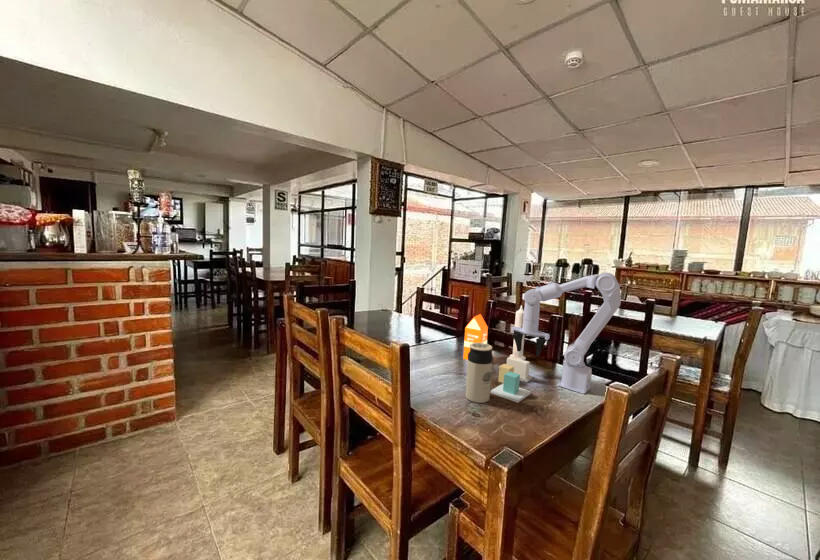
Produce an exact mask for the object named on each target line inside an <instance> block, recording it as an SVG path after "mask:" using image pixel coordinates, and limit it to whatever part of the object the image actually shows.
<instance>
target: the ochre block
mask: <svg viewBox="0 0 820 560" xmlns="http://www.w3.org/2000/svg"><path fill="white" fill-rule="evenodd" d="M509 371H510V372H513V373H514V366H510V365H507V363H503V364H501V365H499V367H498V379H497V380H498V381H497V382H499V383H501V384H503V383H504V374H506V373H507V372H509Z"/></svg>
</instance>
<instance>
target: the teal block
mask: <svg viewBox="0 0 820 560" xmlns="http://www.w3.org/2000/svg"><path fill="white" fill-rule="evenodd" d="M520 381H521V380H520V374H516V373H513V372H510V371H509V372H507V373H506V374H504V384H503V383H502V384H503V391H505V392H508V393H511V394H513V395H514V394H516V393H517V392H518V391H519V388H520Z"/></svg>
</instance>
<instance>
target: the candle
mask: <svg viewBox="0 0 820 560" xmlns="http://www.w3.org/2000/svg"><path fill="white" fill-rule="evenodd" d="M523 317H524V307H523V305H522V304H521V305H520V307H519V309H518V310H516V311H515V317H514V318H515V319H514V327H519V328H523ZM524 345H525V334H523V338H522V346H521V351H517V346H516V342H515V340H514V339H513V347H512V354H509V357H514V358H518V359H521V360H525V361H526V359H527V358H526V356H524Z"/></svg>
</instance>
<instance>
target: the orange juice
mask: <svg viewBox="0 0 820 560" xmlns="http://www.w3.org/2000/svg"><path fill="white" fill-rule="evenodd" d="M488 329H489V326H488V325H487V323H486V321H485V320H484V318H483V316H482V314H481V313H480V314H478V315H477V314H476V315H475V316H473V318H472V319H471V320H470V321H469V323H467V325H466V326H465V328H464V340H463V341H464V342H463V357H462V358H463V360H464V359H466V360H465V361H468V353H469V352H470V347H469V345H470V344H471V343H485V344H488V331H489V330H488Z"/></svg>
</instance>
